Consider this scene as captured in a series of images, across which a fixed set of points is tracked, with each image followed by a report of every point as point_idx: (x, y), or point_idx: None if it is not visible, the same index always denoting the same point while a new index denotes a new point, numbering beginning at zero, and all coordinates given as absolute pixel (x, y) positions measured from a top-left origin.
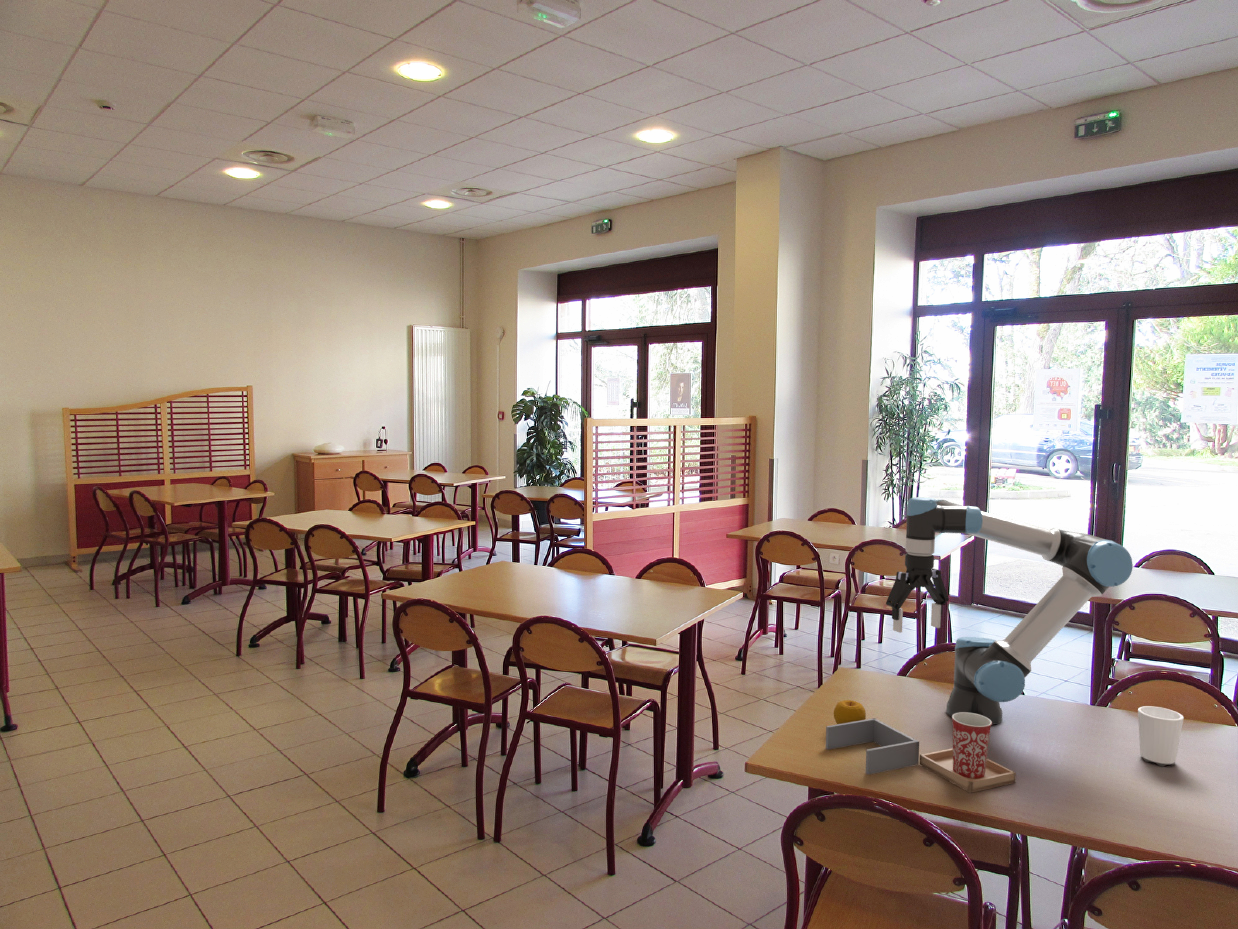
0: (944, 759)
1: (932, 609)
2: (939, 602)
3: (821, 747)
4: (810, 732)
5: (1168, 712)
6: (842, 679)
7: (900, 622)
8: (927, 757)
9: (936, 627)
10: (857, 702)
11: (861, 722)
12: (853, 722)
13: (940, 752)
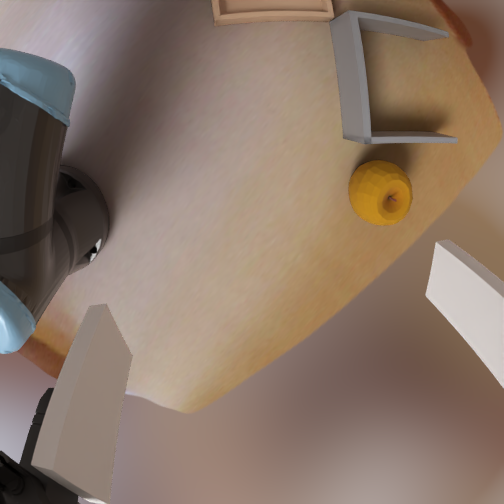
0: (276, 9)
1: (109, 454)
2: (42, 495)
3: (433, 143)
4: (416, 201)
5: None
6: (222, 389)
7: (490, 273)
8: (327, 4)
9: (111, 317)
10: (377, 202)
11: (398, 136)
12: (414, 139)
13: (285, 11)
